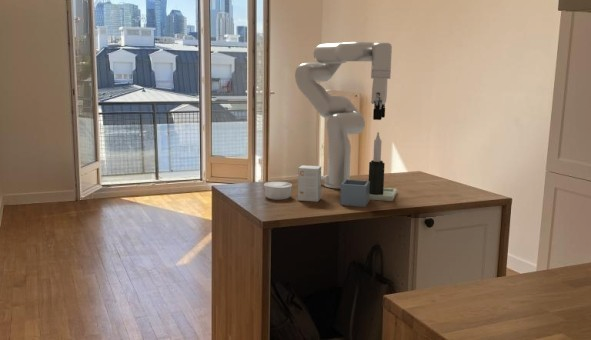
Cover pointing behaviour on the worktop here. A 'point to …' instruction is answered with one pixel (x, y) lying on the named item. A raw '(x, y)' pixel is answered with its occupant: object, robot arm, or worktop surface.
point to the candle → (376, 169)
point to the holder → (355, 192)
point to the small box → (309, 183)
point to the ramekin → (277, 190)
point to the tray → (384, 195)
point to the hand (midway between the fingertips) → (379, 118)
